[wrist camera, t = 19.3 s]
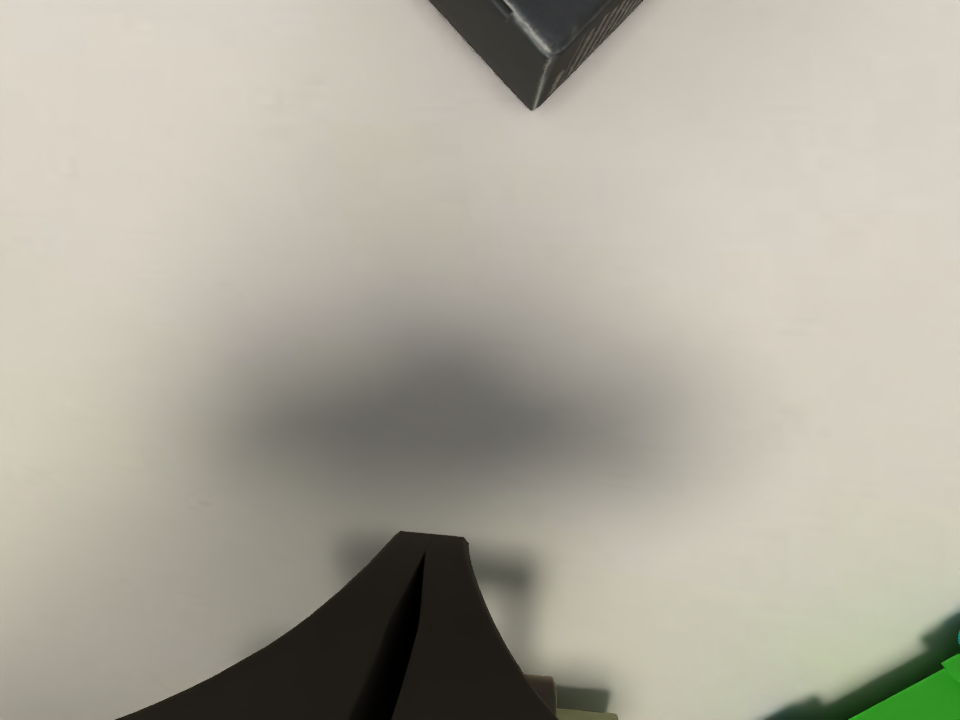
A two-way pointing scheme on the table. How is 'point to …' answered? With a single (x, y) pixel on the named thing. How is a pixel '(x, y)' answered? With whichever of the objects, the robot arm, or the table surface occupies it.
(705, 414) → the table surface
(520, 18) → the box
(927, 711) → the toy car
